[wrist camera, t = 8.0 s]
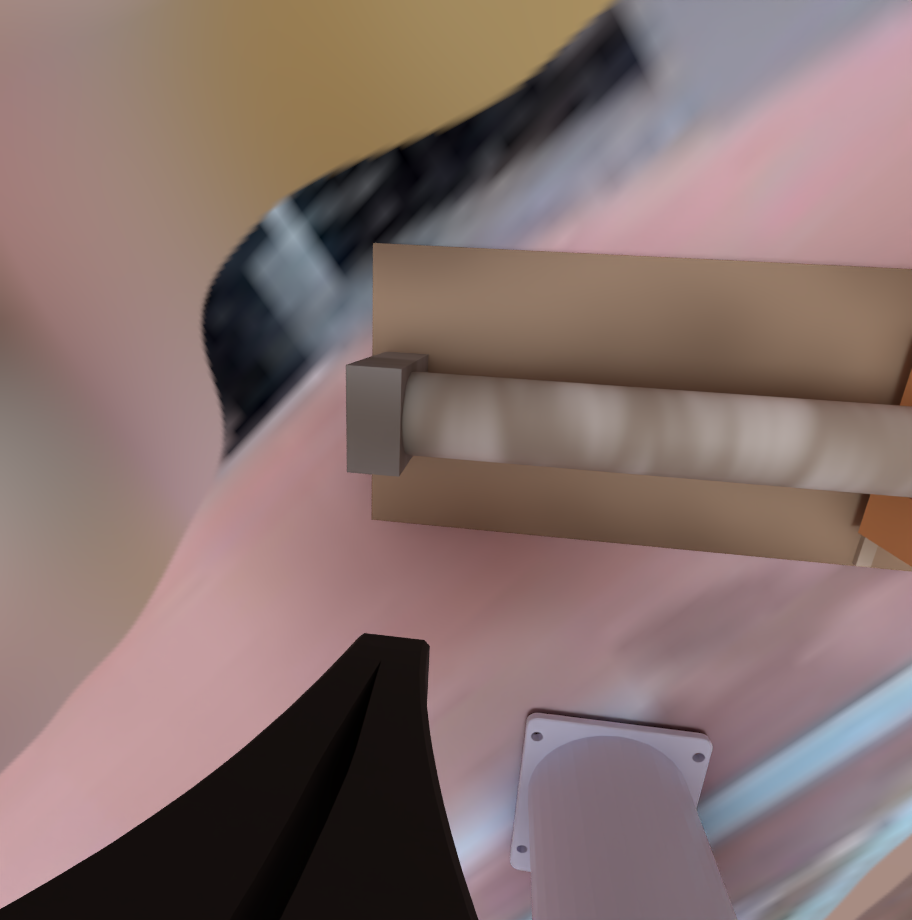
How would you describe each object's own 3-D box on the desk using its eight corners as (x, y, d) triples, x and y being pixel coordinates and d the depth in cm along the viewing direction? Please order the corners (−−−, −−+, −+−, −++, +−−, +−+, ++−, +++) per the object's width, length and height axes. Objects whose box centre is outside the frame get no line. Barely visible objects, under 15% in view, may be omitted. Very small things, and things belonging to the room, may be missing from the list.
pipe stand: (1071, 575, 18) (1299, 682, 13) (377, 509, 20) (332, 579, 15) (1210, 287, 15) (1579, 275, 10) (380, 246, 17) (324, 219, 12)
